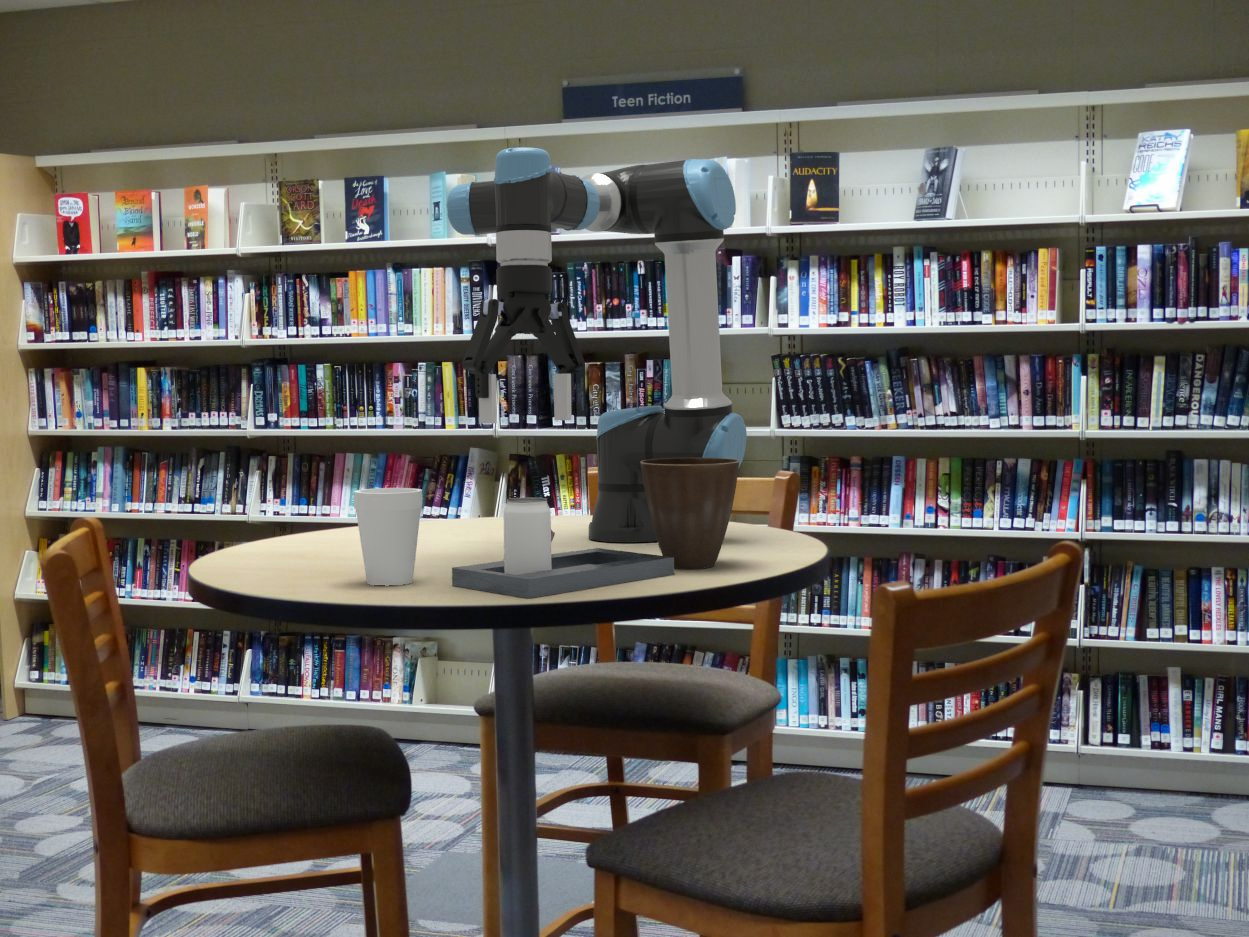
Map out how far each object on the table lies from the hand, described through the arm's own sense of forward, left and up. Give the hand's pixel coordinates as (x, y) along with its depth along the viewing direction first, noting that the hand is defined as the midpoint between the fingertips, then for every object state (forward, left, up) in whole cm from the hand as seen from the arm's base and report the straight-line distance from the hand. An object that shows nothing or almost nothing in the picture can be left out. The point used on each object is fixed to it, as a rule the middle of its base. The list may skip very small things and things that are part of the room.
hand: (526, 422), depth 181 cm
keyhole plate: (-7, 0, -23) cm, 24 cm away
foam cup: (+11, -17, -23) cm, 31 cm away
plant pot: (-29, +4, -23) cm, 37 cm away
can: (0, 0, -23) cm, 23 cm away
